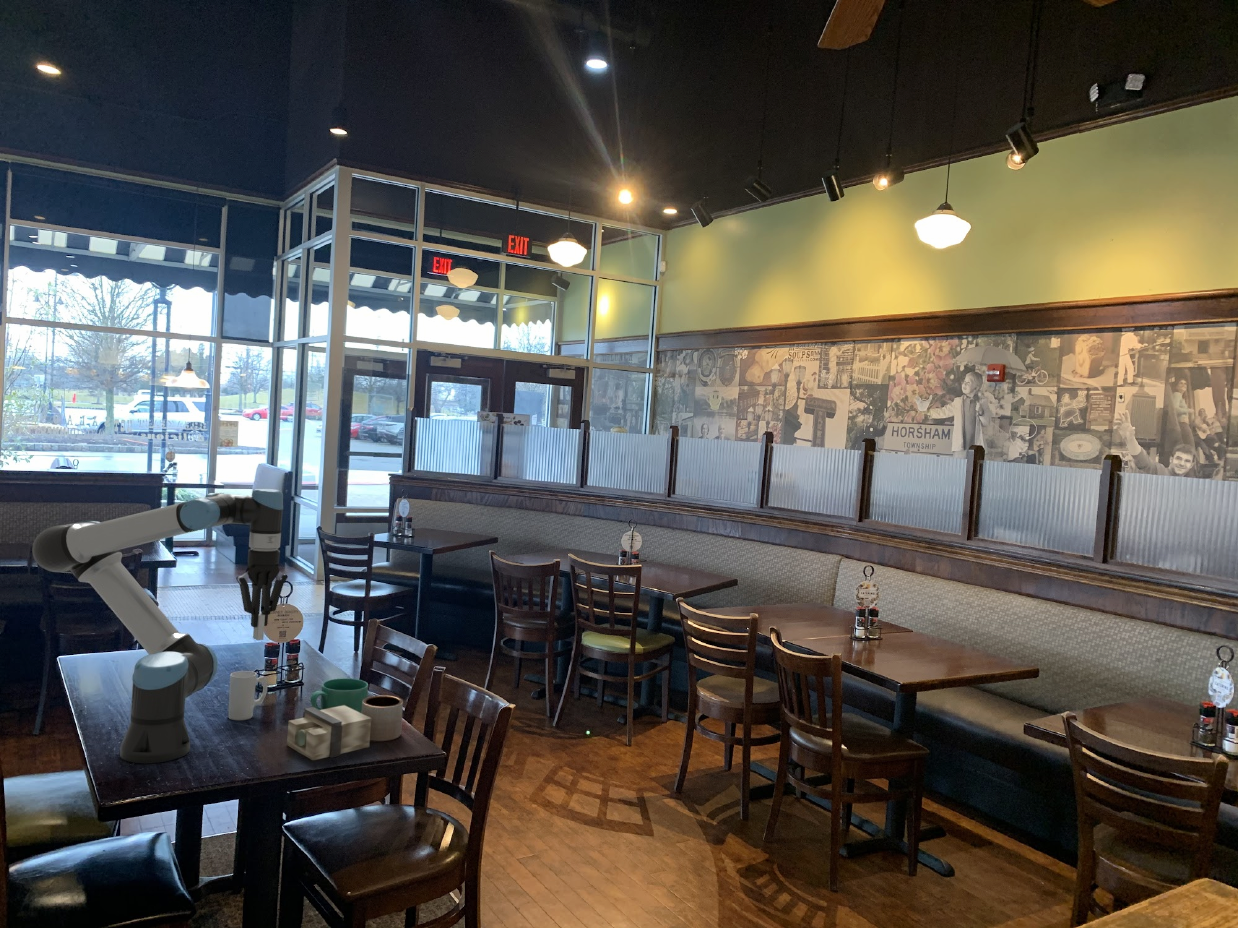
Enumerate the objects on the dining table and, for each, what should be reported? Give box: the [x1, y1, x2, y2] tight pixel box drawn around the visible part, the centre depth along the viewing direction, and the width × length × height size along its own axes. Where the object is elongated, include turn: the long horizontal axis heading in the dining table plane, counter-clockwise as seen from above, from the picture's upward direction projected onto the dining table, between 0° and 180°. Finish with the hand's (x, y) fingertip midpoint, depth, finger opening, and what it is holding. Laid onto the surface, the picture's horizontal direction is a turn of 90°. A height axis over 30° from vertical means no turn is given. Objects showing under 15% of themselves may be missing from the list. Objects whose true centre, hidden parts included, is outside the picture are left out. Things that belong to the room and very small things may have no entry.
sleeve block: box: [286, 705, 371, 761], centre depth 226 cm, size 16×15×9 cm
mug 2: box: [310, 677, 369, 713], centre depth 248 cm, size 17×12×10 cm
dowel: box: [297, 726, 323, 746], centre depth 225 cm, size 14×4×4 cm, turn 139°
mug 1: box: [227, 670, 268, 721], centre depth 243 cm, size 10×7×12 cm, turn 127°
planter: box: [362, 694, 404, 743], centre depth 236 cm, size 11×11×10 cm
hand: (258, 638), depth 226 cm, fingers closed
